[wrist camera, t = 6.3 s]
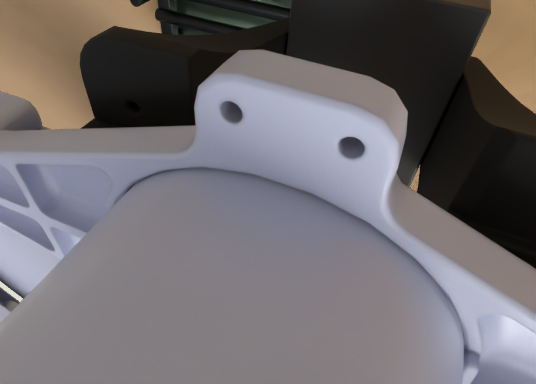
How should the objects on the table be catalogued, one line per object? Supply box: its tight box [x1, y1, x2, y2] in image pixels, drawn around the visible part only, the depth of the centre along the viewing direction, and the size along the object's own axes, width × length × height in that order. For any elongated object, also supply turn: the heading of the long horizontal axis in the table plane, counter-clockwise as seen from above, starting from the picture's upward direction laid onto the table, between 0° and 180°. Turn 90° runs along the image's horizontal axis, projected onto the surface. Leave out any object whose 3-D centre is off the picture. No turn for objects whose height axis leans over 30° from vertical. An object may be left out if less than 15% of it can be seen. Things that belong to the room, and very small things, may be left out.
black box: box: [286, 0, 491, 187], centre depth 12 cm, size 6×4×4 cm
